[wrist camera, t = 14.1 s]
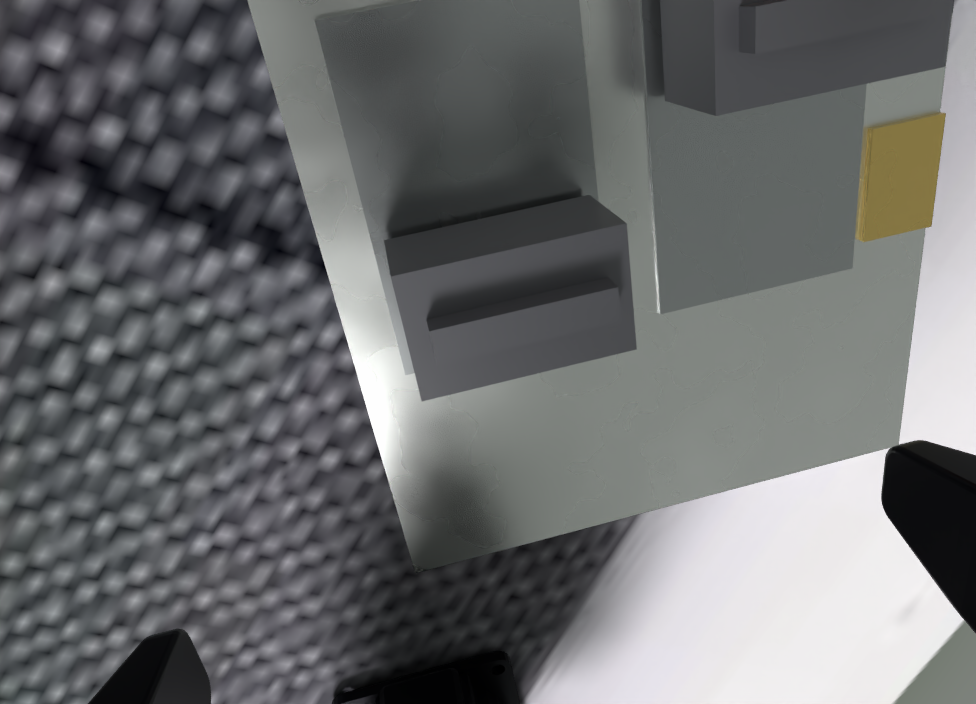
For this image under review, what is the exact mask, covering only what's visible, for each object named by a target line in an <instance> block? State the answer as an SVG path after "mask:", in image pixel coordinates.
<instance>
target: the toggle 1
mask: <svg viewBox="0 0 976 704" xmlns="http://www.w3.org/2000/svg"><path fill="white" fill-rule="evenodd" d="M384 244H385V249H386V255H387V260H388V265H389V271H390V276H391V280H392V284H393V288H394V292H395V296H396V300H397V304H398V308H399V312H400V316H401V320H402V324H403V328H404V332H405V336H406V340H407V344H408V348H409V352H410V357H411V361H412V365H413V369H414V373H415V377H416V381H417V385H418V389H419V393H420V397H421V401H426V400H431V399H435V398H439V397H443V396H447V395H451V394H455V393H459V392H463V391H468V390H472V389H476V388H480V387H484V386H488V385H492V384H496V383H500V382H505V381H509V380H513V379H517V378H521V377H525V376H529V375H533V374H537V373H542V372H546V371H550V370H554V369H558V368H562V367H566V366H570V365H574V364H579V363H583V362H587V361H591V360H595V359H599V358H603V357H607V356H611V355H616V354H620V353H624V352H628V351H632V350H636V349H637V346H636V334H635V321H634V308H633V296H632V283H631V270H630V258H629V245H628V232H627V223H626V222H624V221H623V220H622V219H621V218H619V217H618V216H617V215H615V214H614V213H613V212H611V211H610V210H609V209H607V208H606V207H605V206H604V205H602V204H601V203H600V202H598V201H597V200H596V199H594V198H593V197H592V196H590V195H586V196H581V197H577V198H572V199H568V200H563V201H559V202H554V203H550V204H545V205H541V206H536V207H532V208H527V209H523V210H518V211H514V212H509V213H505V214H500V215H495V216H491V217H486V218H482V219H477V220H473V221H468V222H464V223H459V224H455V225H450V226H446V227H441V228H437V229H432V230H428V231H423V232H419V233H414V234H410V235H405V236H401V237H396V238H392V239H387V240H384Z"/></svg>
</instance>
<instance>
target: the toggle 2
mask: <svg viewBox="0 0 976 704" xmlns="http://www.w3.org/2000/svg"><path fill="white" fill-rule="evenodd" d="M953 6H954V0H660V10H661V31H662V51H663V72H664V92H665V101H667V102H670V103H674V104H677V105H680V106H684V107H687V108H690V109H694V110H697V111H700V112H704V113H707V114H710V115H714V116H719V115H723V114H728V113H732V112H737V111H742V110H746V109H751V108H756V107H760V106H765V105H770V104H774V103H779V102H784V101H788V100H793V99H798V98H802V97H807V96H812V95H816V94H821V93H826V92H830V91H835V90H840V89H844V88H849V87H854V86H858V85H863V84H868V83H872V82H877V81H882V80H886V79H891V78H896V77H900V76H905V75H910V74H914V73H919V72H923V71H928V70H933V69H937V68H942V67H945V65H946V57H947V48H948V40H949V32H950V24H951V16H952V13H953Z"/></svg>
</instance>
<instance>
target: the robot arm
mask: <svg viewBox="0 0 976 704" xmlns="http://www.w3.org/2000/svg"><path fill="white" fill-rule="evenodd" d="M881 499H882V505H883V508H884V511H885V513H886V515H887V516H888V518H889V519H890V521H891V522H892V523H893V525H894V526H895V528H896V529H897V530H898V532H899V533H900V534H901V536H902V537H903V539H904V540H905V541H906V543H907V544H908V545H909V547H910V548H911V550H912V551H913V552H914V554H915V555H916V556H917V558H918V559H919V560H920V562H921V563H922V565H923V566H924V567H925V569H926V570H927V571H928V573H929V574H930V576H931V577H932V578H933V580H934V581H935V582H936V584H937V585H938V587H939V588H940V589H941V591H942V592H943V593H944V595H945V596H946V597H947V599H948V600H949V601H950V603H951V604H952V605H953V607H954V608H955V609H956V610H957V612H958V613H959V614H960V616H961V617H962V618H963V619H964V620H965V621H966V623H967V624H968V625H969V626H970V627H971V629H972V630H973V631H974V632H975V633H976V455H973V454H969V453H966V452H962V451H959V450H955V449H952V448H948V447H945V446H941V445H938V444H935V443H931V442H928V441H923V440H917V441H912V442H908V443H904V444H900V445H896V446H893V447H892V448H890V449H889V450H888V452H887V454H886V457H885V466H884V475H883V485H882V494H881ZM496 665H497V666H496ZM88 704H211V687H210V681H209V678H208V675H207V672H206V670H205V668H204V666H203V664H202V662H201V660H200V657H199V655H198V653H197V651H196V649H195V647H194V645H193V643H192V641H191V638H190V637H189V635H188V633H187V632H186V631H185V630H183V629H174V630H170V631H166V632H162V633H158V634H154V635H151V636H149V637H147V638H145V639H144V640H143V641H142V642H141V643H140V644H139V645H138V647H137V648H136V649H135V650H134V651H133V652H132V653H131V655H130V656H129V657H128V658H127V659H126V660H125V662H124V663H123V664H122V665H121V666H120V667H119V668H118V670H117V671H116V672H115V673H114V674H113V675H112V677H111V678H110V679H109V680H108V681H107V682H106V683H105V685H104V686H103V687H102V688H101V689H100V690H99V692H98V693H97V694H96V695H95V696H94V697H93V698H92V700H91V701H90V702H89V703H88ZM332 704H520V702H519V697H518V693H517V689H516V684H515V680H514V675H513V671H512V666H511V663H510V659H509V656H508V654H507V653H505V652H503V651H494V652H490V653H486V654H483V655H479V656H476V657H472V658H468V659H465V660H461V661H458V662H454V663H450V664H447V665H443V666H440V667H436V668H432V669H429V670H425V671H422V672H418V673H414V674H411V675H407V676H404V677H400V678H396V679H393V680H389V681H386V682H382V683H378V684H375V685H371V686H368V687H364V688H360V689H357V690H353V691H350V692H346V693H342V694H340V695H338V696H337V697H335V698H334V699H333V702H332Z"/></svg>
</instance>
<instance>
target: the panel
mask: <svg viewBox="0 0 976 704" xmlns="http://www.w3.org/2000/svg"><path fill="white" fill-rule="evenodd" d="M248 4H249V7H250V10H251V14H252V17H253V21H254V24H255V27H256V31H257V34H258V38H259V41H260V45H261V48H262V51H263V55H264V58H265V62H266V65H267V68H268V72H269V75H270V79H271V82H272V86H273V89H274V92H275V96H276V99H277V103H278V106H279V109H280V113H281V116H282V120H283V123H284V127H285V130H286V133H287V137H288V140H289V144H290V147H291V150H292V154H293V157H294V161H295V164H296V167H297V171H298V174H299V178H300V181H301V185H302V188H303V191H304V195H305V198H306V202H307V205H308V208H309V212H310V215H311V219H312V222H313V226H314V229H315V232H316V236H317V239H318V243H319V246H320V249H321V253H322V256H323V260H324V263H325V267H326V270H327V273H328V277H329V280H330V284H331V287H332V290H333V294H334V297H335V301H336V304H337V308H338V311H339V314H340V318H341V321H342V325H343V328H344V331H345V335H346V338H347V342H348V345H349V349H350V352H351V355H352V359H353V362H354V366H355V369H356V372H357V376H358V379H359V383H360V386H361V390H362V393H363V396H364V400H365V403H366V407H367V410H368V413H369V417H370V420H371V424H372V427H373V431H374V434H375V437H376V441H377V444H378V448H379V451H380V454H381V458H382V461H383V465H384V468H385V472H386V475H387V478H388V482H389V485H390V489H391V492H392V495H393V499H394V502H395V506H396V509H397V513H398V516H399V519H400V523H401V526H402V530H403V533H404V536H405V540H406V543H407V547H408V550H409V554H410V557H411V560H412V564H413V567H414V571H415V573H419V572H422V571H426V570H430V569H434V568H437V567H441V566H445V565H449V564H452V563H456V562H460V561H464V560H468V559H471V558H475V557H479V556H483V555H486V554H490V553H494V552H498V551H502V550H505V549H509V548H513V547H517V546H520V545H524V544H528V543H532V542H536V541H539V540H543V539H547V538H551V537H554V536H558V535H562V534H566V533H570V532H573V531H577V530H581V529H585V528H588V527H592V526H596V525H600V524H603V523H607V522H611V521H615V520H619V519H622V518H626V517H630V516H634V515H637V514H641V513H645V512H649V511H653V510H656V509H660V508H664V507H668V506H671V505H675V504H679V503H683V502H687V501H690V500H694V499H698V498H702V497H705V496H709V495H713V494H717V493H720V492H724V491H728V490H732V489H736V488H739V487H743V486H747V485H751V484H754V483H758V482H762V481H766V480H770V479H773V478H777V477H781V476H785V475H788V474H792V473H796V472H800V471H804V470H807V469H811V468H815V467H819V466H822V465H826V464H830V463H834V462H838V461H841V460H845V459H849V458H853V457H856V456H860V455H864V454H868V453H871V452H875V451H879V450H883V449H887V448H890V447H893V446H896V445H899V437H900V429H901V421H902V413H903V405H904V397H905V389H906V381H907V373H908V365H909V357H910V348H911V340H912V332H913V324H914V316H915V308H916V300H917V292H918V284H919V276H920V268H921V260H922V252H923V244H924V236H925V228H926V227H931V225H932V217H933V209H934V201H935V194H936V186H937V178H938V170H939V162H940V155H941V147H942V139H943V131H944V123H945V116H946V113H941V112H940V108H941V99H942V91H943V83H944V75H945V67H946V65H945V67H942V68H937V69H933V70H928V71H923V72H919V73H914V74H910V75H905V76H900V77H896V78H891V79H886V80H882V81H877V82H872V83H868V84H863V85H858V86H854V87H849V88H844V89H840V90H835V91H830V92H826V93H821V94H816V95H812V96H807V97H802V98H798V99H793V100H788V101H784V102H779V103H774V104H770V105H765V106H760V107H756V108H751V109H746V110H742V111H737V112H732V113H728V114H723V115H719V116H714V115H710V114H707V113H704V112H700V111H697V110H694V109H690V108H687V107H684V106H680V105H677V104H674V103H670V102H667V101H665V92H664V72H663V51H662V31H661V10H660V0H248ZM951 19H952V16H951ZM950 27H951V24H950ZM949 35H950V32H949ZM948 43H949V40H948ZM947 51H948V48H947ZM946 59H947V57H946ZM586 195H590V196H592V197H593V198H594V199H596V200H597V201H598V202H600V203H601V204H602V205H604V206H605V207H606V208H607V209H609V210H610V211H611V212H613V213H614V214H615V215H617V216H618V217H619V218H621V219H622V220H623V221H624V222H626V223H627V232H628V245H629V258H630V270H631V283H632V296H633V308H634V321H635V334H636V346H637V349H636V350H632V351H628V352H624V353H620V354H616V355H611V356H607V357H603V358H599V359H595V360H591V361H587V362H583V363H579V364H574V365H570V366H566V367H562V368H558V369H554V370H550V371H546V372H542V373H537V374H533V375H529V376H525V377H521V378H517V379H513V380H509V381H505V382H500V383H496V384H492V385H488V386H484V387H480V388H476V389H472V390H468V391H463V392H459V393H455V394H451V395H447V396H443V397H439V398H435V399H431V400H426V401H421V397H420V393H419V389H418V385H417V381H416V377H415V373H414V369H413V365H412V361H411V357H410V352H409V348H408V344H407V340H406V336H405V332H404V328H403V324H402V320H401V316H400V312H399V308H398V304H397V300H396V296H395V292H394V288H393V284H392V280H391V276H390V271H389V265H388V260H387V255H386V249H385V244H384V240H387V239H392V238H396V237H401V236H405V235H410V234H414V233H419V232H423V231H428V230H432V229H437V228H441V227H446V226H450V225H455V224H459V223H464V222H468V221H473V220H477V219H482V218H486V217H491V216H495V215H500V214H505V213H509V212H514V211H518V210H523V209H527V208H532V207H536V206H541V205H545V204H550V203H554V202H559V201H563V200H568V199H572V198H577V197H581V196H586Z"/></svg>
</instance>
